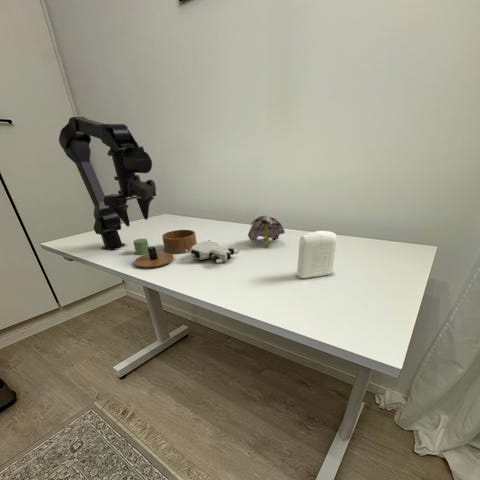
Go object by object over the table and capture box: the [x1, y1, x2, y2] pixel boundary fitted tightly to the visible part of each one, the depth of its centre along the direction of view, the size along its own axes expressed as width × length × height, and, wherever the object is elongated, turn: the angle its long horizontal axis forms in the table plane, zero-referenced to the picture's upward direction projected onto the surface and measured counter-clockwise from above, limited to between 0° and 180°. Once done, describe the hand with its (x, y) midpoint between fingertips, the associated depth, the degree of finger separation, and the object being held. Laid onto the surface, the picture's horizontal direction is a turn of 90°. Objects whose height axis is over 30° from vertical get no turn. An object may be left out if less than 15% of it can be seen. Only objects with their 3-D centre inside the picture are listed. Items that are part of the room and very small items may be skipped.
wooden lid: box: [134, 245, 174, 269], centre depth 94 cm, size 13×13×5 cm
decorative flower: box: [247, 215, 286, 248], centre depth 103 cm, size 15×12×15 cm
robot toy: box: [185, 239, 239, 264], centre depth 94 cm, size 12×4×15 cm
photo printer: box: [296, 230, 338, 279], centre depth 77 cm, size 10×4×12 cm, turn 103°
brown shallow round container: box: [161, 229, 198, 255], centre depth 105 cm, size 12×12×5 cm
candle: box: [132, 238, 150, 256], centre depth 104 cm, size 5×5×4 cm
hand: (137, 222), depth 96 cm, fingers open, 9 cm apart
